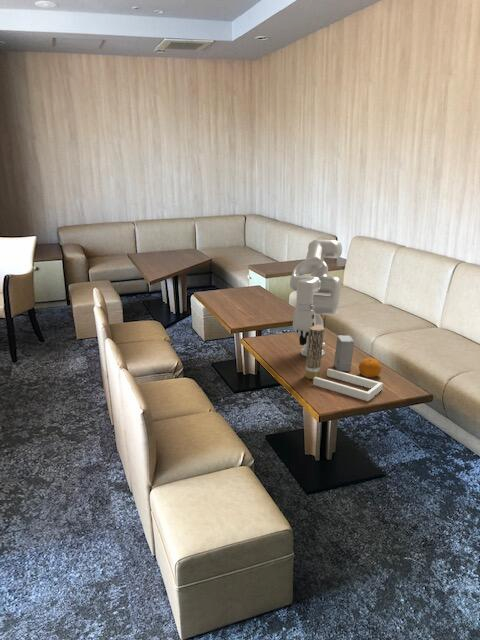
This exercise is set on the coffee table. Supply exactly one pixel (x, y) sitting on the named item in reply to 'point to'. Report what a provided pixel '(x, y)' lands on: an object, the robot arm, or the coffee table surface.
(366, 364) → the fruit
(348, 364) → the skincare box
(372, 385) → the u-rest
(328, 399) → the coffee table surface
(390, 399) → the coffee table surface
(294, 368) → the coffee table surface
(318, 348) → the paper tube
